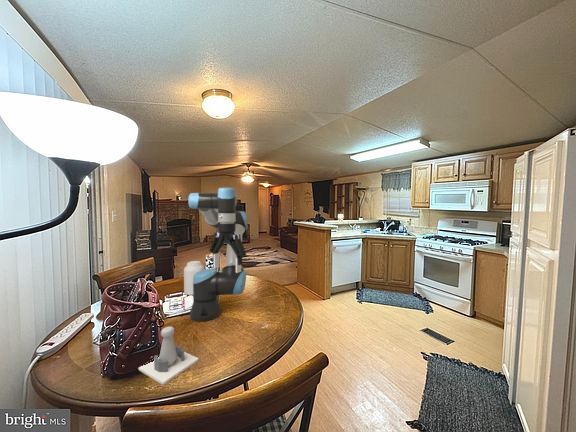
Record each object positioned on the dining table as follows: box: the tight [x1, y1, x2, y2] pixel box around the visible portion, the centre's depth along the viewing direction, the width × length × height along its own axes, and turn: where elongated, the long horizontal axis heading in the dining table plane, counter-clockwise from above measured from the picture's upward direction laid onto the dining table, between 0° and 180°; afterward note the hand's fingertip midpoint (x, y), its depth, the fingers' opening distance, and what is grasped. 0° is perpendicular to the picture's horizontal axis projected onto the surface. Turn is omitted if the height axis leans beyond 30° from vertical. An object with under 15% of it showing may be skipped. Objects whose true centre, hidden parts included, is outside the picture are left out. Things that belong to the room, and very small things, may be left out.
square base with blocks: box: [137, 345, 199, 386], centre depth 86 cm, size 14×14×4 cm
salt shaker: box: [159, 325, 177, 367], centre depth 86 cm, size 6×6×13 cm
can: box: [183, 260, 205, 296], centre depth 158 cm, size 12×12×20 cm
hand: (227, 269), depth 108 cm, fingers open, 13 cm apart
